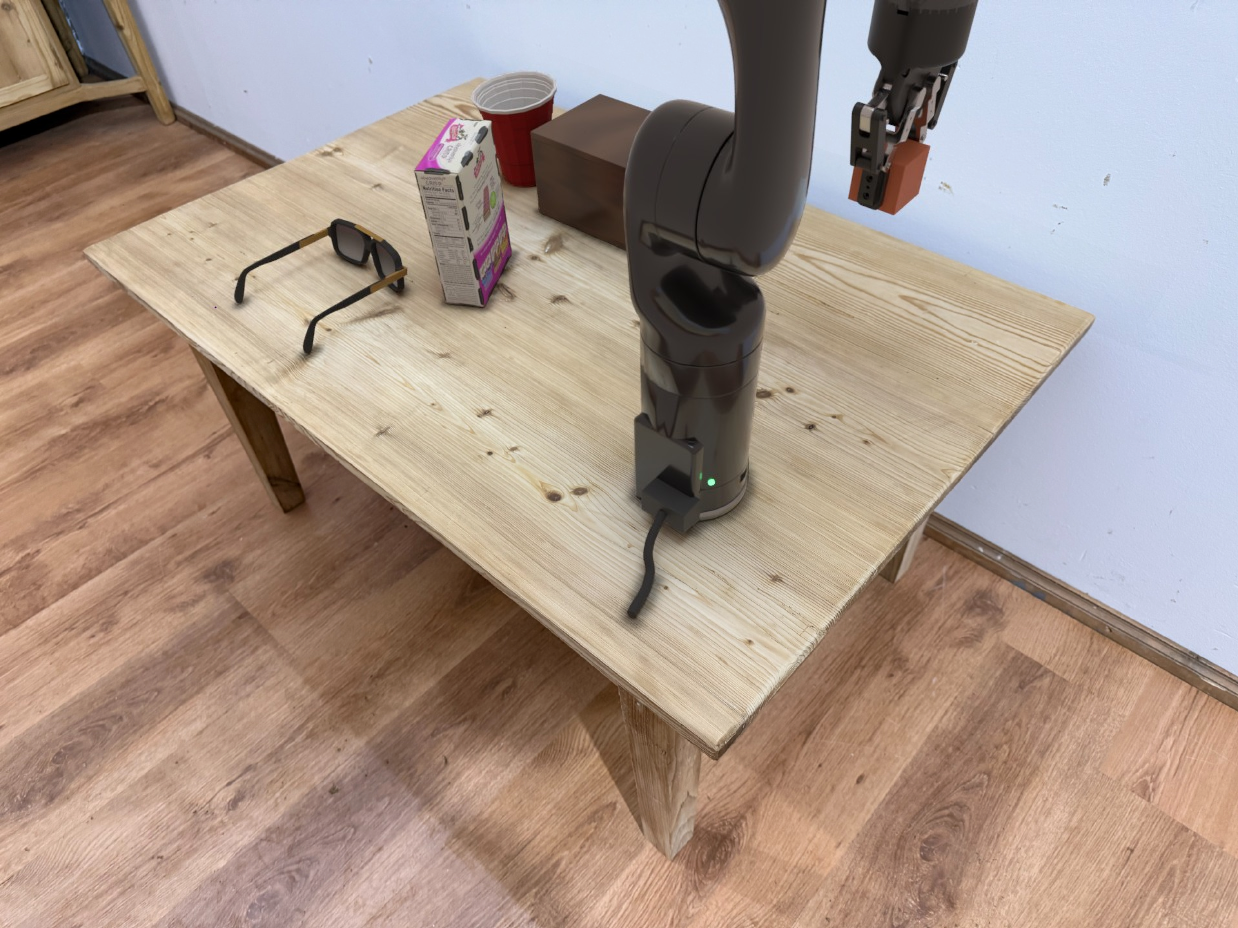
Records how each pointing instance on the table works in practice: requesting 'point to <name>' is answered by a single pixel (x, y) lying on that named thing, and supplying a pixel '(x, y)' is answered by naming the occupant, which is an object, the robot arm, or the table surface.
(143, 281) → the table surface
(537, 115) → the plastic cup
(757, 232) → the robot arm
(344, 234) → the sunglasses
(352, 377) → the table surface
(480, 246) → the candy bar box
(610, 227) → the dark wooden cube
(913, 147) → the block
